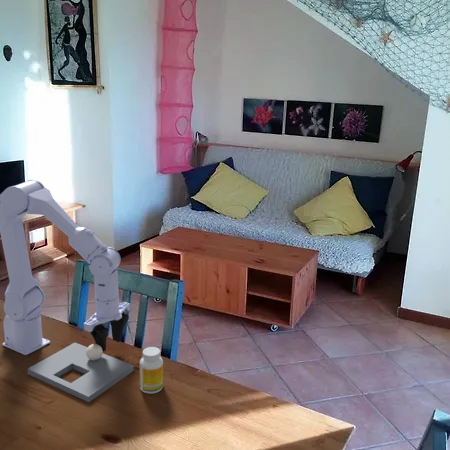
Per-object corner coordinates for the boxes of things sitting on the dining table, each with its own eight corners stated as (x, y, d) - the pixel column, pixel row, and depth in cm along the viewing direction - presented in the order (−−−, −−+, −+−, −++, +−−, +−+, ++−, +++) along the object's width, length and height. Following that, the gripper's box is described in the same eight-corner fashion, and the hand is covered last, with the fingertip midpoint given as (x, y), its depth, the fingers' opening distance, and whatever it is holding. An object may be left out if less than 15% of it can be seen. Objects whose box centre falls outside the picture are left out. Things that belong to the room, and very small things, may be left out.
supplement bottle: (135, 386, 118) (134, 349, 116) (155, 378, 122) (155, 342, 119) (147, 397, 114) (147, 359, 112) (167, 389, 118) (167, 352, 115)
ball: (84, 360, 126) (80, 349, 124) (95, 349, 129) (92, 338, 127) (96, 366, 124) (92, 354, 122) (107, 354, 127) (104, 343, 125)
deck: (28, 374, 121) (27, 368, 121) (75, 347, 134) (74, 342, 133) (88, 402, 112) (88, 396, 111) (133, 370, 124) (133, 365, 124)
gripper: (97, 311, 118) (100, 362, 122) (138, 290, 130) (139, 337, 134) (76, 304, 121) (79, 354, 125) (117, 284, 133) (119, 330, 137)
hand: (109, 345), depth 130 cm, fingers open, 5 cm apart
